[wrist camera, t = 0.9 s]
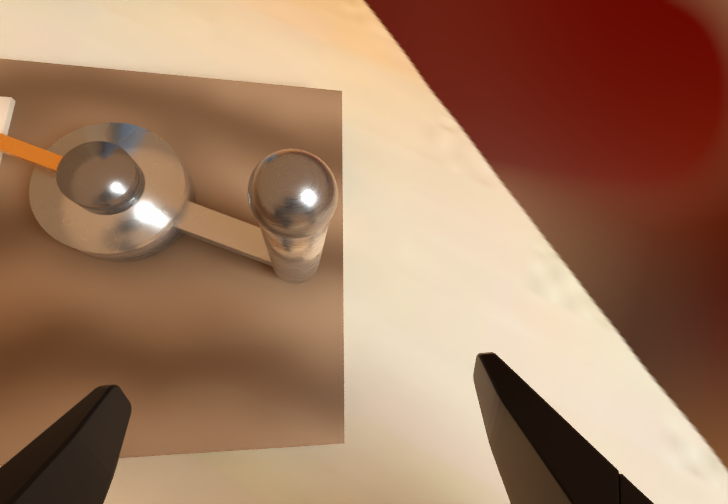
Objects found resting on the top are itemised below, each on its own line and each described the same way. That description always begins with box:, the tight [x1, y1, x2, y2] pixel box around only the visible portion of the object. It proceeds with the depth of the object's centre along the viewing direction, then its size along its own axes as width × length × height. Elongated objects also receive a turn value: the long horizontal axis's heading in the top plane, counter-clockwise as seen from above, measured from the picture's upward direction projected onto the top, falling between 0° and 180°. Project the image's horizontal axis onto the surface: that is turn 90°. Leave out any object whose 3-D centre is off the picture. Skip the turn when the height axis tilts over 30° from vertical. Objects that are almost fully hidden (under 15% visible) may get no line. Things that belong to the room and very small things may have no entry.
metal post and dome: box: [0, 123, 338, 284], centre depth 14 cm, size 6×18×10 cm, turn 71°
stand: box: [0, 59, 344, 466], centre depth 20 cm, size 20×20×2 cm
